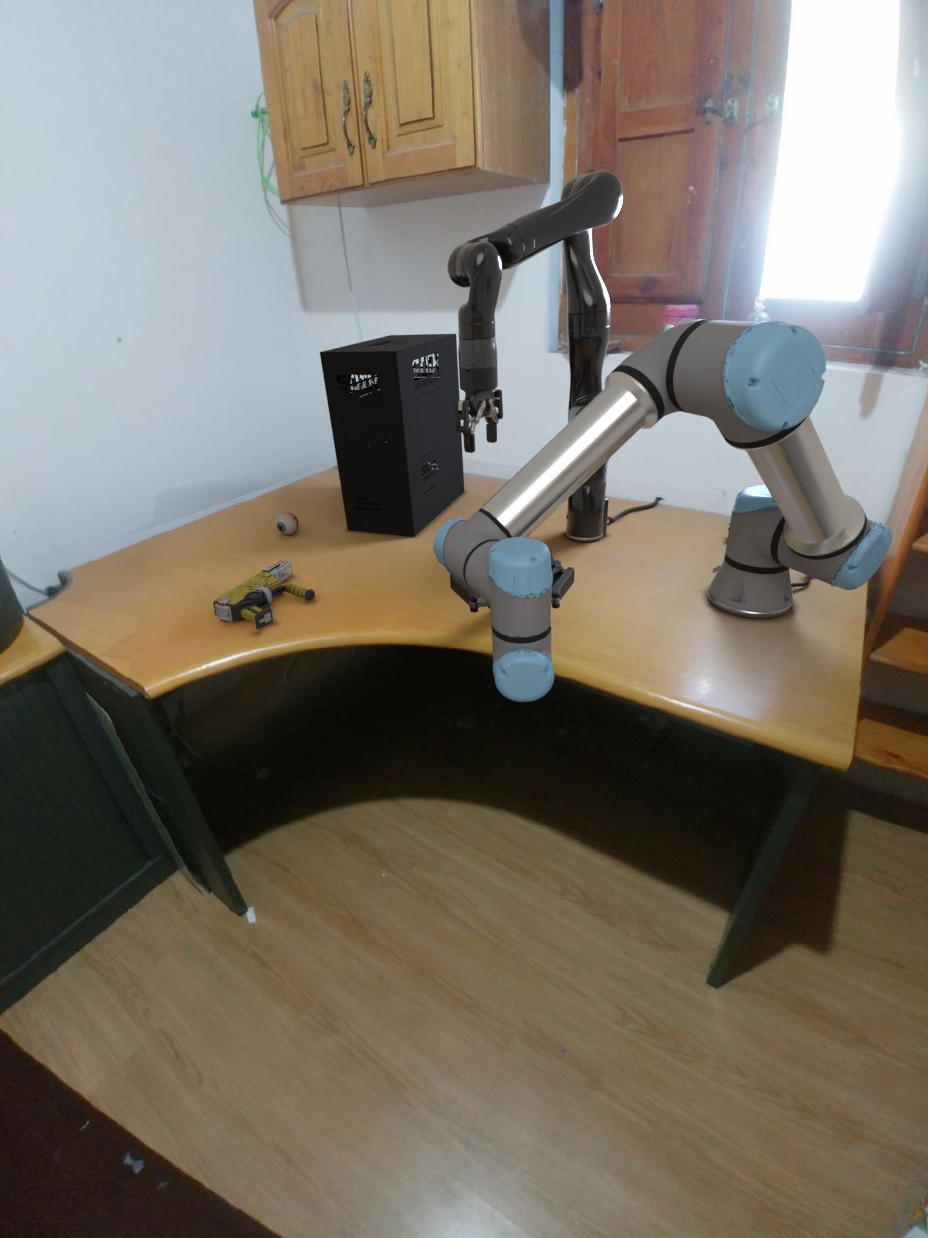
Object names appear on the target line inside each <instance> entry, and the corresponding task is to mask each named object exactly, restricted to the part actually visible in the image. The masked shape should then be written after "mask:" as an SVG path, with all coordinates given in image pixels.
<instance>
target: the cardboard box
mask: <svg viewBox="0 0 928 1238" xmlns="http://www.w3.org/2000/svg"><path fill="white" fill-rule="evenodd" d="M457 341H458V340H457V333H429V334H427V333H424V334H423V333H421V334H389V335H386V336H381V337H377V338H373V339H368V340H364V341H360V342H355V343H351V344H348V345H344V346H340V347H335V348H331V349H326V350H323V351H319V358H320V364H321V370H322V376H323V382H324V388H325V396H326V401H327V407H328V414H329V421H330V426H331V432H332V433H331V434H332V440H333V446H334V451H335V452H334V453H335V458H336V459H335V460H336V465H337V471H338V478H339V484H340V490H341V496H342V501H343V503H342V504H343V509H344V515H345V522H346V529H347V530H348V531H356V532H365V533H377V534H384V535H385V534H387V535H396V536H406V537H416V536H417V535H418V534H419V533H421V532H422V531H423V530H424V529H425V528H426V527H427V526H428V525H429V524H430V523H431V522H433V520H435V519H436V518H437V517H438V516H439V515H440V514H442V513H443V512H444V510H446V509H447V508H448V507H449V506H450V505H451V504H452V503H454V502H455V501H456V500H457V499H458V498H459V497H460V496H462V494H463V493H465V475H464V474H465V473H464V459H463V457H464V455H463V437H462V436H463V434H462V433H461V432H456V424H455V401H456V400H461V399H460V398H461V397H460V377H459V358H458V343H457ZM433 356H434V357H433ZM422 358H423V361H422ZM416 360H418V363H417V361H416ZM434 362H435V365H434ZM421 364H422V365H421ZM352 376H353V377H352ZM356 376H357V378H356ZM361 376H362V377H361ZM369 376H370V377H369ZM362 378H363V379H362Z"/></svg>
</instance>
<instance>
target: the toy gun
mask: <svg viewBox="0 0 928 1238" xmlns="http://www.w3.org/2000/svg"><path fill="white" fill-rule="evenodd" d="M288 569H290V570H291V571H290V572H287V570H288ZM292 576H293V565H292V562H291V561H290V560H286V561H285V560H284V559H280V560H279V561H277V562H275V563H273V565H271V566H269V567H268V568H266V569H262V570H261V571H259V572H258V573H255V575H253V576H251V577H250V578H248V579H246V580H245V581H243V582H241V583H240V584H238V585H236V586H234V587H233V588H232V589H230V590H228V591H227V592H225V593H224V594H222V595H220V596H219V597H217V598H216V599H214V600H213V601H212V605H213V612H214V616H215V617H216V618H217V619H219V622H221V623H225V624H227V623H229V622H230V623H236V622H238V623H239V622H242V621H246V620H247V621H249V622H252V623H254V624H255V628H256V630H261V629H263V628H264V627H266V626H268V625H270V624H271V623H273V622H274V615H273V609H272V607H271V605H272V603H273V599H274V598H276V597H279V596H281V595H282V594H283V593H287V594H291V595H293V596H296V597H299V598H300V599H304V600H306V601H308V602H311V601H312V600H314V599H315V598H316V593H315V591H314V589H312V588H307V587H305V586H302V585H299V584H296V583H293V582H292V581H289V582H286V584H285V585H284V584H283V583H282V582H284V581H286V580H287V579H288V578H290V577H292Z"/></svg>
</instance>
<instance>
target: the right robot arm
mask: <svg viewBox="0 0 928 1238" xmlns="http://www.w3.org/2000/svg"><path fill="white" fill-rule="evenodd" d="M826 360H827V359H826V354H825V351H824V347H823V346H822V343H821V342H820V340H819V339H818V337H817V336H816V335H815V334H814V333H813V332H812V331H810V330H809V329H807V328H806V327H803V326H801V325H796V324H789V323H786V322H782V321H778V320H765V321H753V320H752V321H750V320H749V321H747V320H716V319H714V320H713V319H705V318H704V319H702V318H700V319H699V318H698V319H692V320H689V321H684V322H680V323H679V324H677V325H673V326H672V327H670V328H668V329H665V330H664V331H663V332H661V333H659V334H657V335H656V336H654V337H653V338H651V339H649V340H648V341H646V342H645V343H644V344H642V345H641V346H640V347H638V348H636V350H635V351H633V352H632V353H631V354H630V355H628V356H626V358H624V359H623V361H621V362H620V363H619V364H618V365H617V366H616V367H615V368H614V369H613V370H612V371H611V372H610V373H609V374H608V375H607V376H606V377H605V379H604V383H603V384H604V386H603V387H604V389H602V392H601V393H599V394H598V395H597V396H596V397H595V398H594V399H593V400H592V401H591V402H590V403H589V404H588V405H587V406H586V407H585V408H584V409H583V410H582V411H581V412H580V413H579V414H578V415H577V416H576V417H575V418H574V419H572V420H571V421H570V422H569V423H568V422H567V424H566V425H565V426H564V427H563V428H562V429H561V430H559V432H558V433H557V434H556V435H555V436H554V437H552V438H551V440H549V441H548V442H547V443H546V444H545V445H544V446H543V447H542V448H541V449H540V450H539V451H538V452H537V453H536V454H534V456H533V457H532V458H531V459H530V460H529V461H528V462H527V463H525V464H524V465H523V466H522V468H520V469H519V470H518V471H517V472H516V473H515V474H514V475H513V476H512V477H511V478H509V480H508V481H507V482H506V483H505V484H504V485H502V487H501V488H499V489H498V490H497V492H495V493H494V495H492V496H491V497H490V498H489V499H488V500H487V501H486V502H485V503H484V504H483V505H481V507H480V508H478V510H477V511H476V512H475V513H473V514H472V515H471V516H470V517H469V518H468V519H467V518H461V517H459V518H458V517H457V518H453V519H450V520H448V521H446V522H444V523H443V524H442V525H441V526H440V527H439V528H438V530H437V531H436V533H435V535H434V538H433V542H432V543H433V548H432V549H433V553H434V556H435V558H436V560H437V561H438V563H439V564H440V565H441V566H443V567H444V568H445V570H446V572H447V573H448V574H449V584H450V590H452V591H453V592H454V594H456V595H457V596H458V597H459V598H460V599H461V600H463V601H464V602H465V604H467V606H469V610H470V612H471V613H473V614H475V613H478V612H479V609H480V608H485V607H486V608H488V609H489V611H490V624H491V642H492V644H491V645H492V647H491V648H492V675H493V677H494V683H495V686H496V688H497V691H498V692H499V693H500V694H501V695H502V696H503V697H505V698H506V699H508V700H510V701H512V702H516V703H529V702H535V701H537V700H539V699H541V698H543V697H544V696H545V695H547V694H548V693H549V692H550V690H551V689H552V688H553V685H554V681H555V672H554V671H555V669H554V668H555V662H554V661H553V658H552V657H553V656H552V621H551V618H552V616H551V614H552V609H559V608H560V607H561V600H562V599H563V598H564V597H565V595H566V594H567V592H568V591H569V590H570V589H571V588H572V586H573V584H574V583H575V569H576V568H575V567H573V566H568V567H567V568H564V567H563V565H562V563H561V560H559V559H554V555H553V551H552V548H549V546H547V544H546V543H545V542H543V541H541V540H539V539H536V538H529V537H530V535H532V534H533V533H534V532H535V531H536V530H537V529H538V528H539V527H540V526H541V525H542V524H544V522H546V520H547V519H548V518H550V516H551V515H552V514H553V513H555V512H556V511H557V510H558V509H559V508H560V507H561V506H562V505H563V504H564V503H565V502H567V499H568V498H569V497H570V496H571V495H572V494H573V493H574V492H575V491H576V490H577V489H578V488H579V487H580V486H581V485H582V484H583V483H584V482H585V481H586V480H588V479H589V478H590V477H591V476H592V475H593V474H594V473H595V472H596V471H597V470H598V469H599V468H600V467H601V466H602V465H603V464H604V463H605V462H606V461H607V460H608V459H609V458H610V459H611V458H612V457H613V456H614V455H615V454H616V453H617V452H618V451H619V450H620V449H621V448H622V447H623V446H624V445H625V444H626V443H627V442H629V440H630V439H631V438H632V437H633V436H634V435H635V434H636V433H637V432H638V431H640V430H641V429H642V430H649V429H651V428H653V427H654V426H656V424H657V423H659V421H660V420H662V419H663V418H664V417H666V416H668V415H671V414H674V413H681V412H682V413H687V414H690V415H694V416H699V417H705V418H708V419H710V420H711V421H712V422H713V423H714V425H715V426H716V428H717V429H718V431H719V433H720V434H721V436H722V437H723V439H724V441H725V442H726V443H727V445H729V446H731V447H732V448H734V449H737V450H741V451H745V452H746V454H747V456H748V457H749V459H750V461H751V463H752V464H753V467H754V468H755V470H756V471H757V473H758V476H760V479H761V480H762V482H763V484H759V485H753V486H750V487H746V488H744V489H741V490H740V491H739V492H738V493H737V495H736V496H735V500H734V503H733V508H732V509H731V516H730V522H729V523H730V528H729V531H728V534H727V537H728V540H726V546H725V553H724V559H723V562H722V563H721V564H719V565H718V566H716V567H713V569H712V574H714V573H716V574H715V575H714V577H713V579H712V581H711V582H710V585H709V587H708V593H707V598H708V600H709V602H710V603H711V604H712V605H713V606H714V607H716V608H717V609H719V610H721V611H722V612H724V613H727V614H729V615H733V616H737V617H742V618H745V619H756V620H757V619H758V620H765V619H775V618H779V617H781V616H784V615H786V614H787V613H789V612H790V611H791V608H792V604H793V601H794V600H793V598H794V597H793V596H794V594H793V588H798V587H799V588H800V587H805V586H807V585H809V583H810V578H813V579H816V580H818V581H821V582H823V583H825V584H828V585H830V587H833V588H834V587H835V588H839V589H842V590H845V591H853V590H856V589H858V588H860V587H862V586H863V585H865V584H866V583H867V582H869V580H870V579H871V578H872V577H873V576H874V574H875V573H876V572H877V571H878V570H879V568H880V567H881V565H882V564H883V562H884V561H885V558H886V557H887V555H888V552H889V550H890V548H891V545H892V541H893V530H892V529H891V527H890V526H888V525H887V524H884V523H882V522H881V521H878V522H877V521H873V520H871V519H869V518H868V516H867V515H866V512H865V510H864V508H863V506H862V504H861V503H860V502H859V501H858V500H857V499H856V498H854V497H853V496H851V495H848V494H845V493H844V491H843V489H842V486H841V484H840V482H839V479H838V477H837V475H836V473H835V470H834V469H833V466H832V464H831V462H830V459H829V457H828V454H827V452H826V450H825V448H824V445H823V443H822V441H821V439H820V436H819V434H818V432H817V430H816V427H815V426H814V423H813V420H812V418H811V414H812V413H813V410H814V408H815V407H816V405H817V403H818V402H819V401H820V397H821V395H822V392H823V389H824V387H825V386H824V385H825V382H826V381H825V379H824V378H823V375H824V374H825V373H826V372H827V361H826ZM610 459H609V460H610ZM790 570H793V571H796V572H798V573H801V574H803V575H805V578H804V579H805V581H804V582H792V581H791V574H790Z"/></svg>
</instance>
